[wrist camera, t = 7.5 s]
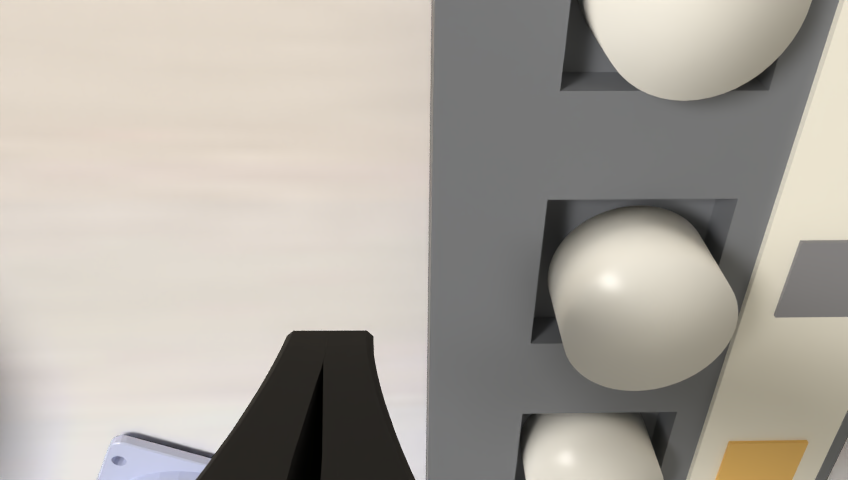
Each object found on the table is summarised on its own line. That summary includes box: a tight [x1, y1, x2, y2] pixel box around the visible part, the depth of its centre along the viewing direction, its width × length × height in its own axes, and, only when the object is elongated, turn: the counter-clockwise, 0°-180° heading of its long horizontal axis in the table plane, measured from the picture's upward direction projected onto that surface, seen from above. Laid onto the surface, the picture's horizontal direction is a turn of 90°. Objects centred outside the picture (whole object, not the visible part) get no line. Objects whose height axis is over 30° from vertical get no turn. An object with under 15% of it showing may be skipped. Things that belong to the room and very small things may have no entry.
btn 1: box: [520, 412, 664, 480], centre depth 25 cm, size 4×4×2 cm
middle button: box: [548, 205, 738, 391], centre depth 20 cm, size 4×4×2 cm
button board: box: [426, 0, 848, 480], centre depth 21 cm, size 24×14×2 cm, turn 0°
